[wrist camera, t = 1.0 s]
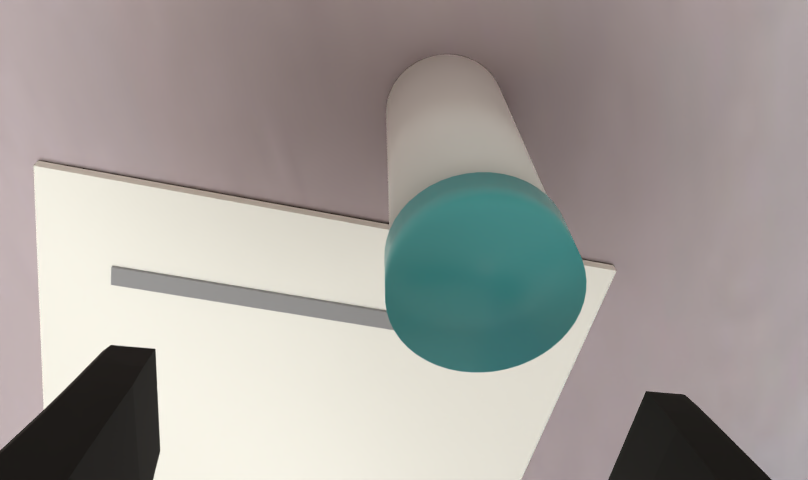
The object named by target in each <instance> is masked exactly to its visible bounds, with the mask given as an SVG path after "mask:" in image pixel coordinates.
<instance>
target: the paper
mask: <svg viewBox="0 0 808 480" xmlns="http://www.w3.org/2000/svg"><path fill="white" fill-rule="evenodd" d="M34 188H35V212H36V236H37V260H38V284H39V308H40V332H41V356H42V380H43V404H44V409H45V408H46V407H47V406H48V405H49V404H50V403H51V402H52V401H53V400H54V399H55V398H56V397H57V396H58V395H60V394H61V393H62V392H63V391H64V390H65V389H66V388H67V387H68V386H69V385H70V384H71V383H72V382H73V381H74V380H75V379H76V378H77V377H78V376H79V375H80V373H81V372H82V371H83V370H84V369H85V368H86V367H87V366H88V365H89V364H90V363H91V362H92V361H93V360H94V359H95V358H96V357H97V356H98V355H99V354H100V353H101V352H102V351H103V350H105V349H106V348H107V347H109V346H110V345H118V346H129V347H141V348H152V349H156V371H157V392H158V413H159V434H160V454H159V458H158V462H157V466H156V470H155V474H154V478H153V480H521V479H522V477H523V474H524V472H525V470H526V468H527V466H528V463H529V461H530V459H531V457H532V455H533V452H534V450H535V448H536V446H537V444H538V442H539V439H540V437H541V435H542V433H543V431H544V428H545V426H546V424H547V422H548V420H549V417H550V415H551V413H552V411H553V409H554V406H555V404H556V402H557V400H558V398H559V396H560V393H561V391H562V389H563V387H564V385H565V382H566V380H567V378H568V376H569V374H570V371H571V369H572V367H573V365H574V363H575V361H576V358H577V356H578V354H579V352H580V350H581V347H582V345H583V343H584V341H585V339H586V336H587V334H588V332H589V330H590V328H591V325H592V323H593V321H594V319H595V317H596V315H597V312H598V310H599V308H600V306H601V304H602V301H603V299H604V297H605V295H606V293H607V290H608V288H609V286H610V284H611V282H612V280H613V277H614V275H615V273H616V269H615V267H614V266H613V265H609V264H603V263H598V262H592V261H587V260H582V261H583V264H584V267H585V272H586V280H587V283H586V295H585V300H584V304H583V306H582V309H581V312H580V314H579V316H578V318H577V320H576V322H575V323H574V325H573V326H572V327H571V329H570V330H569V332H568V333H567V334H566V335H565V336H564V337H563V338H562V339H561V340H560V341H559V342H558V343H557V344H556V345H554V346H553V347H552V348H551V349H549V350H548V351H546V352H545V353H544V354H542V355H540V356H539V357H537V358H535V359H533V360H531V361H529V362H526V363H524V364H522V365H519V366H516V367H512V368H509V369H505V370H500V371H494V372H462V371H456V370H451V369H447V368H444V367H440V366H437V365H435V364H433V363H431V362H428V361H426V360H425V359H423V358H421V357H420V356H418V355H416V354H415V353H414V352H413V351H411V350H410V349H409V348H408V347H407V346H406V345H405V344H404V343H403V342H402V341H401V340H400V338H399V337H398V336H397V334H396V333H395V331H394V329H393V327H392V325H391V323H390V321H389V318H388V315H387V311H386V304H385V266H384V255H385V245H386V239H387V236H388V233H389V224H384V223H378V222H373V221H367V220H362V219H356V218H351V217H345V216H340V215H334V214H329V213H323V212H318V211H312V210H307V209H301V208H296V207H290V206H285V205H279V204H274V203H268V202H263V201H257V200H252V199H246V198H241V197H235V196H230V195H224V194H219V193H213V192H208V191H202V190H197V189H191V188H186V187H180V186H175V185H169V184H164V183H158V182H153V181H147V180H142V179H136V178H131V177H125V176H120V175H114V174H109V173H103V172H98V171H92V170H87V169H81V168H76V167H70V166H65V165H59V164H54V163H48V162H43V161H38V162H37V163H36V164H35V165H34Z"/></svg>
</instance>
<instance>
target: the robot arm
mask: <svg viewBox="0 0 808 480" xmlns="http://www.w3.org/2000/svg"><path fill="white" fill-rule="evenodd" d="M159 454H160V434H159V413H158V392H157V371H156V349H152V348H141V347H129V346H118V345H110V346H109V347H107V348H106V349H105V350H103V351H102V352H101V353H100V354H99V355H98V356H97V357H96V358H95V359H94V360H93V361H92V362H91V363H90V364H89V365H88V366H87V367H86V368H85V369H84V370H83V371H82V372H81V373H80V375H79V376H78V377H77V378H76V379H75V380H74V381H73V382H72V383H71V384H70V385H69V386H68V387H67V388H66V389H65V390H64V391H63V392H62V393H61V394H60V395H58V396H57V397H56V398H55V399H54V400H53V401H52V402H51V403H50V404H49V405H48V406H47V407H46V408H45V409H44V410H43V411H42V412H41V413H40V414H39V415H38V416H37V417H36V418H35V419H34V420H33V421H32V422H30V423H29V424H28V425H27V426H26V427H25V428H24V429H23V430H22V431H21V432H20V433H19V434H18V435H16V436H15V437H14V438H13V439H12V440H11V441H10V442H9V443H8V444H7V445H6V446H5V447H3V448H2V449H1V450H0V480H153V478H154V474H155V470H156V466H157V462H158V458H159ZM608 480H771V479H770V478H769V477H768V476H767V475H766V474H765V473H764V472H763V471H762V470H761V469H760V468H759V467H758V466H757V465H756V464H755V463H754V462H753V461H752V460H751V459H750V458H749V457H748V456H747V455H746V454H745V453H744V452H743V451H742V450H741V449H740V448H739V447H738V446H737V445H736V444H735V443H734V442H733V441H732V440H731V439H730V438H729V437H728V436H727V435H726V434H725V433H724V432H723V431H722V430H721V429H720V428H719V427H718V426H717V425H716V424H715V423H714V422H713V421H712V420H711V419H710V418H709V417H708V416H707V415H706V414H705V413H704V412H703V411H702V410H701V409H700V408H699V407H698V406H697V405H695V404H694V403H693V402H692V401H691V400H690V399H689V398H688V397H687V396H686V395H682V394H671V393H659V392H648V391H646V393H645V395H644V398H643V400H642V402H641V405H640V407H639V409H638V412H637V414H636V416H635V419H634V421H633V423H632V426H631V428H630V430H629V433H628V435H627V437H626V440H625V442H624V444H623V447H622V449H621V451H620V454H619V456H618V458H617V461H616V463H615V465H614V468H613V470H612V472H611V475H610V477H609V479H608Z"/></svg>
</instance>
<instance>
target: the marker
mask: <svg viewBox="0 0 808 480" xmlns="http://www.w3.org/2000/svg"><path fill="white" fill-rule="evenodd" d="M386 132H387V167H388V201H389V233H388V236H387V239H386V245H385V255H384V266H385V304H386V311H387V315H388V318H389V321H390V323H391V325H392V327H393V329H394V331H395V333H396V334H397V336H398V337H399V338H400V340H401V341H402V342H403V343H404V344H405V345H406V346H407V347H408V348H409V349H410V350H411V351H413V352H414V353H415V354H416V355H418V356H420V357H421V358H423V359H425V360H426V361H428V362H431V363H433V364H435V365H437V366H440V367H444V368H447V369H451V370H456V371H462V372H494V371H500V370H505V369H509V368H512V367H516V366H519V365H522V364H524V363H526V362H529V361H531V360H533V359H535V358H537V357H539V356H540V355H542V354H544V353H545V352H546V351H548V350H549V349H551V348H552V347H553V346H554V345H556V344H557V343H558V342H559V341H560V340H561V339H562V338H563V337H564V336H565V335H566V334H567V333H568V332H569V330H570V329H571V327H572V326H573V325H574V323H575V322H576V320H577V318H578V316H579V314H580V312H581V309H582V306H583V304H584V300H585V295H586V283H587V280H586V272H585V267H584V264H583V261H582V258H581V256H580V254H579V251H578V249H577V247H576V245H575V243H574V240H573V238H572V236H571V234H570V232H569V229H568V227H567V225H566V223H565V221H564V219H563V217H562V214H561V212H560V211H559V209H558V208H557V206H556V205H555V204H554V202H553V201H552V200H551V199H550V198H549V197H548V196H547V195H546V192H545V190H544V188H543V186H542V183H541V181H540V179H539V177H538V174H537V172H536V170H535V167H534V165H533V163H532V161H531V158H530V156H529V154H528V152H527V149H526V147H525V145H524V142H523V140H522V138H521V136H520V133H519V131H518V129H517V126H516V124H515V122H514V120H513V117H512V115H511V113H510V111H509V108H508V106H507V104H506V101H505V99H504V97H503V95H502V92H501V90H500V88H499V86H498V84H497V82H496V80H495V79H494V77H493V76H492V75H491V74H490V72H489V71H488V70H487V69H485V68H484V67H483V66H482V65H480V64H479V63H477V62H476V61H474V60H471V59H469V58H466V57H463V56H459V55H452V54H443V55H435V56H431V57H428V58H425V59H422V60H420V61H418V62H416V63H415V64H413V65H412V66H410V67H409V68H407V69H406V70H405V71H404V72H403V73H402V74H401V75H400V77H399V78H398V79H397V80H396V82H395V83H394V85H393V87H392V89H391V91H390V93H389V97H388V100H387V106H386Z"/></svg>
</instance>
